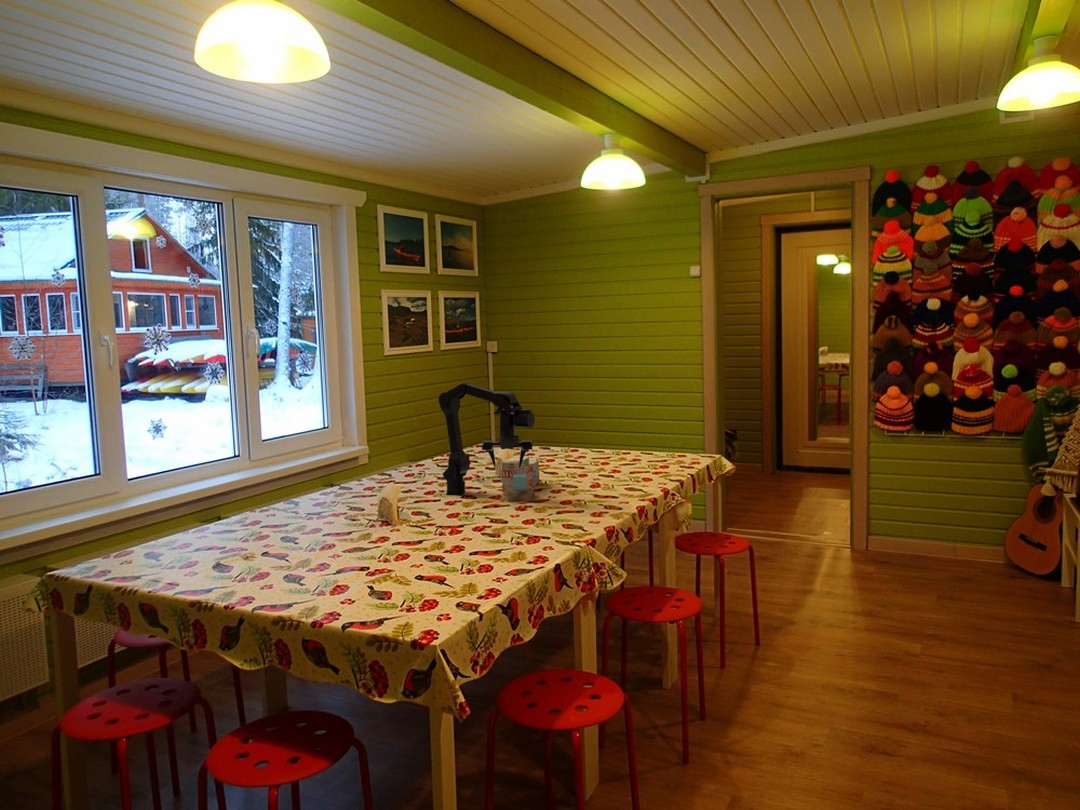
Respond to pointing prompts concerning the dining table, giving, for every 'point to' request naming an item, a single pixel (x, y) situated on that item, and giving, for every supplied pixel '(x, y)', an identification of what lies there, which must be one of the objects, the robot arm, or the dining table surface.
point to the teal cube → (519, 482)
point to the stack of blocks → (519, 471)
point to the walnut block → (519, 494)
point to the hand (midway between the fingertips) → (507, 467)
